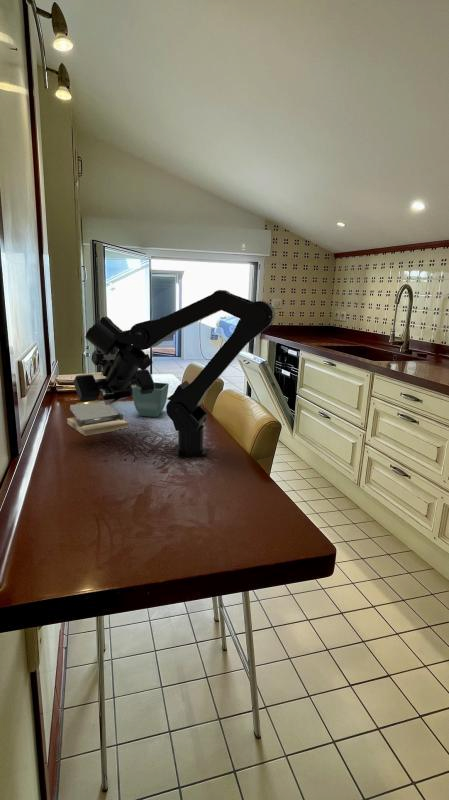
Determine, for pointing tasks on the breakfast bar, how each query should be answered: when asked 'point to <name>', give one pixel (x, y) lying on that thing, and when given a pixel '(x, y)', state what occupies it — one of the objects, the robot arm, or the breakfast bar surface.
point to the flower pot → (151, 400)
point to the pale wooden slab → (98, 425)
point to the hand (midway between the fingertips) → (106, 403)
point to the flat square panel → (93, 412)
